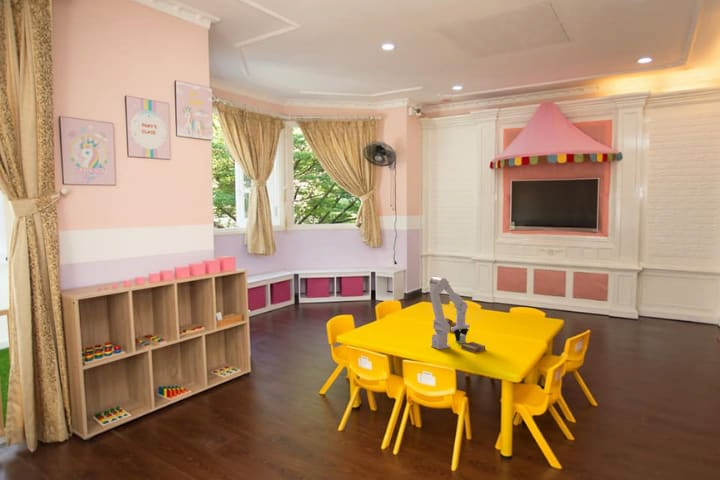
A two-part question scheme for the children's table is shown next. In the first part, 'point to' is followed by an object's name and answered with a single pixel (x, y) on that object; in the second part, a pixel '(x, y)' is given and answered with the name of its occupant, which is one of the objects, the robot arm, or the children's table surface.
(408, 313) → the children's table surface
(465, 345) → the walnut plinth
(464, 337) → the sage block
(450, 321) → the lion figurine
